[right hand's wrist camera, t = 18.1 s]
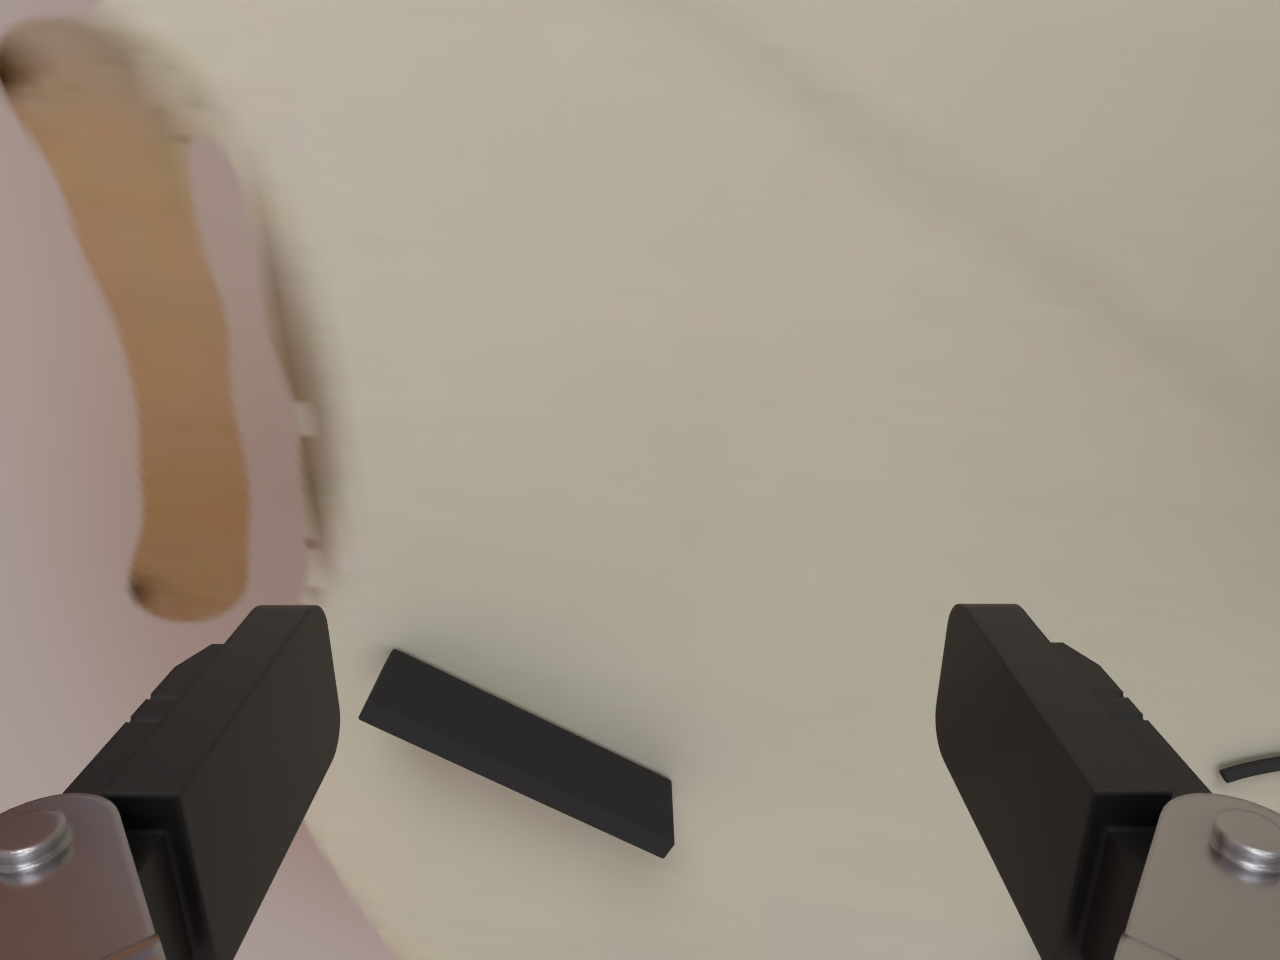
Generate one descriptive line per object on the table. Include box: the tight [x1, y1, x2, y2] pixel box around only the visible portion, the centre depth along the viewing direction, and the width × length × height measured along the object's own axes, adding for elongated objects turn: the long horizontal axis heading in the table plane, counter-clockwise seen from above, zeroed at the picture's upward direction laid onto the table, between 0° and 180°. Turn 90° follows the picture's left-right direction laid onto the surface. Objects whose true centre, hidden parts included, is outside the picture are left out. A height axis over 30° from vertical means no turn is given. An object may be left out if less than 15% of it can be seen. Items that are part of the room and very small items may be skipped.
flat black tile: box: [359, 649, 674, 858], centre depth 47 cm, size 18×1×5 cm, turn 60°
